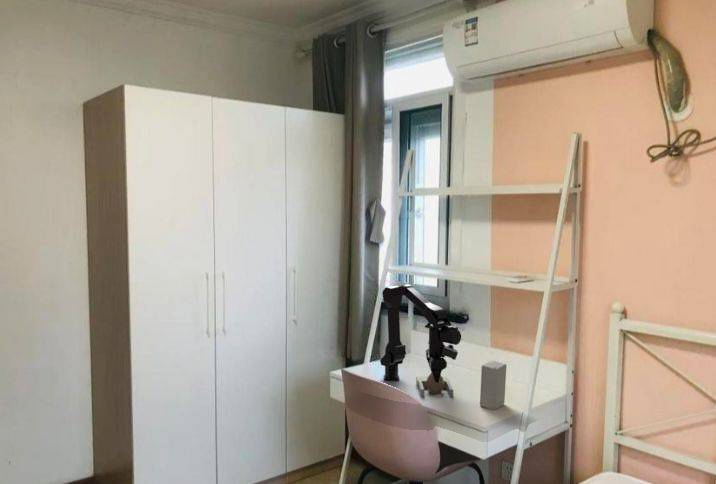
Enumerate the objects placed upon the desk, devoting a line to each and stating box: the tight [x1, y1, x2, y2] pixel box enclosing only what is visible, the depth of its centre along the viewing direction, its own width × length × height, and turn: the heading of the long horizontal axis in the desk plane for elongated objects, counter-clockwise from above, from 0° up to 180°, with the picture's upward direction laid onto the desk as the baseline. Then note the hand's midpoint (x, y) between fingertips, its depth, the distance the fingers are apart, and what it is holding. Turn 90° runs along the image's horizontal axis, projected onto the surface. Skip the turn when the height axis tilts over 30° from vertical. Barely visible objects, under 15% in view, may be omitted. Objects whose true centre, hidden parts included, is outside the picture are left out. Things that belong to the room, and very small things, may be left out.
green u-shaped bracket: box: [415, 376, 454, 398], centre depth 229 cm, size 17×13×3 cm
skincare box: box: [479, 360, 507, 411], centre depth 211 cm, size 8×7×16 cm
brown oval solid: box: [426, 371, 444, 395], centre depth 226 cm, size 7×7×9 cm
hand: (435, 379), depth 226 cm, fingers open, 9 cm apart
